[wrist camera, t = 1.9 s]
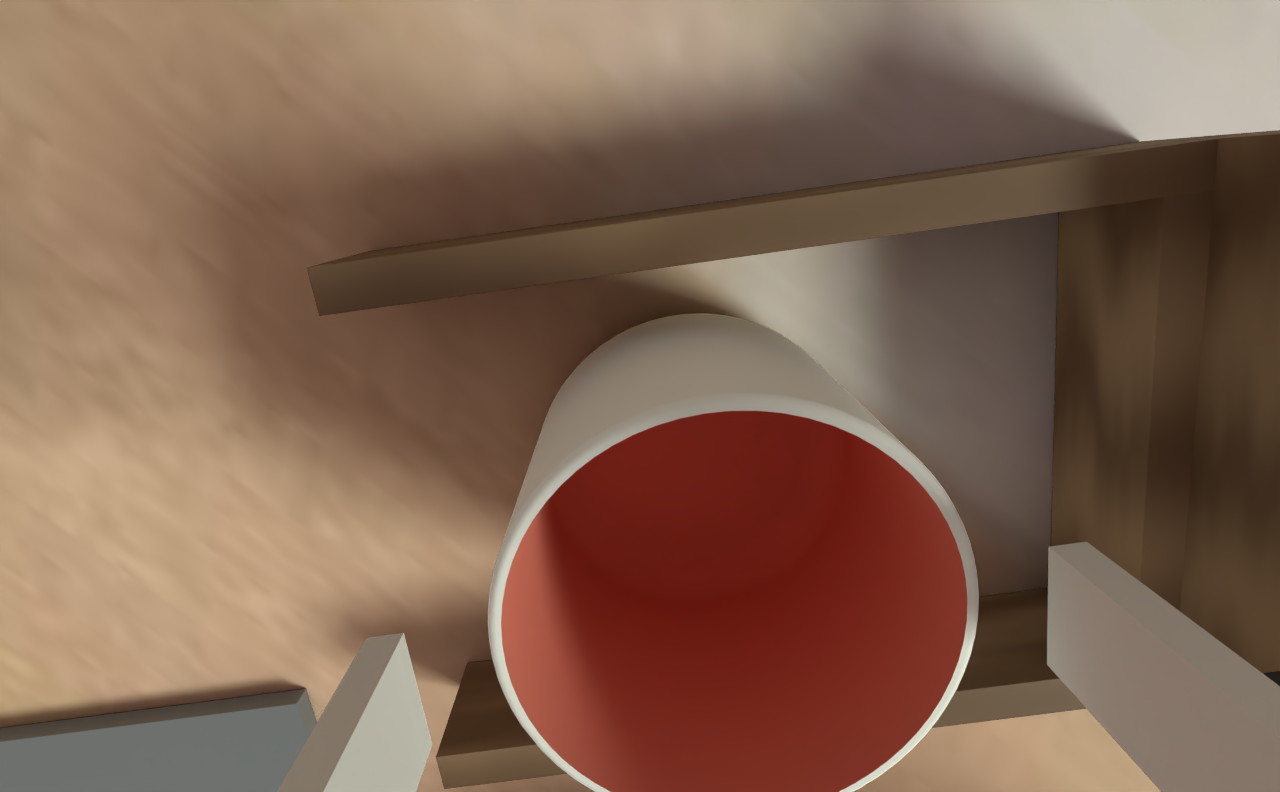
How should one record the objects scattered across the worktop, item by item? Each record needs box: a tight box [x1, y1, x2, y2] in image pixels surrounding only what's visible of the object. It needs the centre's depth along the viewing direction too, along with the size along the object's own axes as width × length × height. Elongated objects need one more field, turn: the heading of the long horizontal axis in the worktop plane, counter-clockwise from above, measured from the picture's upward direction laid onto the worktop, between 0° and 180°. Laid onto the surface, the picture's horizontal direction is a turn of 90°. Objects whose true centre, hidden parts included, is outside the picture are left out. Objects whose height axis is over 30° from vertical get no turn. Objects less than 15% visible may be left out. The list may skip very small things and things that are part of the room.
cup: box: [488, 313, 979, 792], centre depth 20 cm, size 10×10×10 cm
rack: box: [307, 130, 1280, 789], centre depth 20 cm, size 16×23×8 cm
